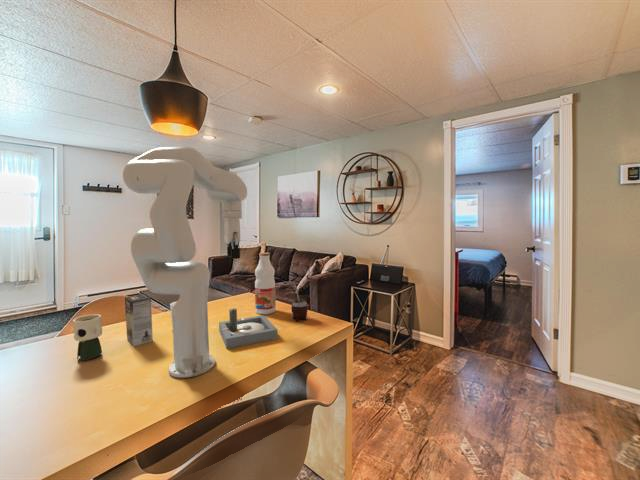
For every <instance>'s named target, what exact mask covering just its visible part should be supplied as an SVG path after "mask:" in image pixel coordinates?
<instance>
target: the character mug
mask: <svg viewBox="0 0 640 480" xmlns="http://www.w3.org/2000/svg"><path fill="white" fill-rule="evenodd" d="M72 328H73V331H74V334H73V339H74V341H76V342H77V341H78V345H77V354H76V355H77V356H76V357H77V358H76V359H77V360H79V361H87V360H92V359H94V358H96V357H98V356H100V355H101V354H102V353H103V351H102V345H101V341H100V339H99V338H100V336H102V334H103V323H102V315H101V314H98V313H96V314H95V313H94V314H85V315H82V316H78V317H76V318H74V319H73V320H72Z"/></svg>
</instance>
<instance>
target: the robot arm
mask: <svg viewBox="0 0 640 480" xmlns="http://www.w3.org/2000/svg"><path fill="white" fill-rule="evenodd" d="M122 179H123V182H124V185H125V186H126V187H127V188H128V189H129V190H130V191H131V192H135V193H136V194H145V195H146V194H147V195H148V194H157V196H156V198H155V199H154V202H153V203H152V204H151V206H150V210H149V220H150V223H151V226H152V228H142V229H140V230H138V231H136V233H135V234H134V235H133V237H132V238H131V243H130V253H131V257H132V259H133V262H134V264H135V266H136V269H137V271H138V274H139V275H140V277H141V280H142V282H143V284H144V286H145V287H146V289H147V290H148V291H149V292H151V293H153V294H156V295H157V294H158V295H178V296H179V297H178V299H177V300H176V301H177V302H176V301H175V302H176V303H175V305H174V307H173V310H172V318H171V323H173V326H172V339H173V343H172V344H173V361H172V362H171V364H169V366H168V374H169V376H171V377H174V378H178V379H179V378H180V379H181V378H182V379H184V378H191V377H197V376H200V375H203V374H205V373H207V372H208V371H210V370H211V369H212V368H214V366H215V363H216V358H215V357H214V356H213V355H211V354H210V344H209V342H210V341H209V340H210V339H209V317H208V316H209V314H208V312H209V311H208V298H209V296H208V293H209V285H210V280H211V279H210V278H211V271H210V269H209V267H208V266H207V265H206V264H205V263H203V262H200V261H196V260H195V261H194V260H192V259H193V258H195V255H196V252H197V248H196V244H195V243H196V242H195V239H194V236H193V233H192V229H191V225H190V222H189V218H188V215H187V205H188V201H189V198H190V194H191V191H192V190H193V186H195V187H197V188H199V189H201V190H204V191H205V190H206V194H207V196H208V198H209V199H210V200H211V201H212V202H213V201H214V202H217V203H218V202H220V203H221V206H222V207H221V208H222V209H221V210H222V211H221V212H222V213H221V214H222V219H224V243H226V244H227V247H226V251H227V254H226V255H227V256H228V257H231V259H232V260H235V259H236V260H237V259H241V248H240V242H241V223H240V220H241V219H243V211H242V210H243V208H242V202H243V201H245V200H246V198H247V196H248V187H247V186H246V184H245V181H244V180H243V179H242V178H241V177H240V176H239V175H237V174H235V173H233V172H231V171H228V170H225V169H222V168H220V167H217V166H215V165H213V164H212V163H211V162H210V161H209V160H208V159H207V158H206V157H204V155H203V154H201V152H199V150H197V149H196V148H193V147H192V146H164V147H162V146H161V147H157V148H154V149H151V150H149V151H147V152H144V153H143V154H141V155H139V156H137V157H135V158H133V159H131V160H129V162H127V163H126V164H125V166H124V168H123V171H122Z"/></svg>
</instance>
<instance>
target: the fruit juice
mask: <svg viewBox="0 0 640 480" xmlns="http://www.w3.org/2000/svg"><path fill="white" fill-rule="evenodd" d="M258 255H259V260H258V263H257V265H256V268H255V270H254V275H255V281H254V300H255V301H254V302H255V305H254V306H255V313H256V314H259V315H271V314H274V313H275V312H276V310H277V309H276V308H277V306H276V305H277V304H276V303H277V302H276V281H275V273H276V272H275V268H274V267H273V265H272V262H271V260H270V257H271V256H270V255H271V254H270V252H268V251H267V252H265V251H264V252H259V253H258Z"/></svg>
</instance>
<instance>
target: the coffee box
mask: <svg viewBox="0 0 640 480" xmlns="http://www.w3.org/2000/svg"><path fill="white" fill-rule="evenodd" d="M124 305H125V307H124V308H125V309H124V311H125V324H126V325H125V326H126V327H125V328H126V339H127V341H128V342H129V343H130V344H131V345H132V346H133V347H137V346H141V345H145V344H147V343H152V342H154V340H153V320H152V319H153V318H152V317H153V315H152V313H153V312H152V298H151V297H149V296H148V295H146V294H145V293H140V294H136V295H135V294H134V295H130V296H125V297H124Z"/></svg>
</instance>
